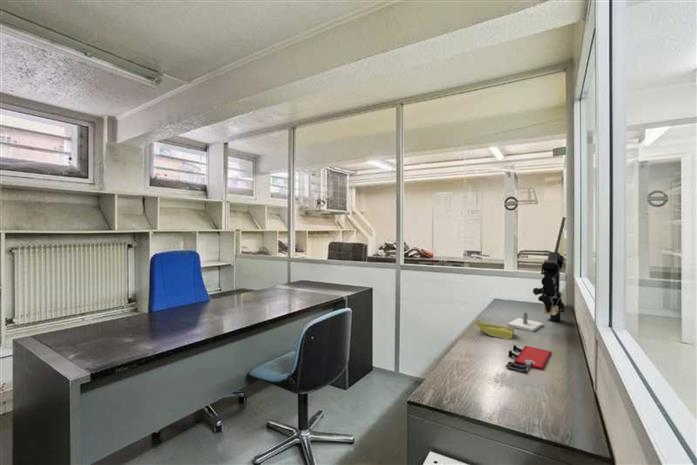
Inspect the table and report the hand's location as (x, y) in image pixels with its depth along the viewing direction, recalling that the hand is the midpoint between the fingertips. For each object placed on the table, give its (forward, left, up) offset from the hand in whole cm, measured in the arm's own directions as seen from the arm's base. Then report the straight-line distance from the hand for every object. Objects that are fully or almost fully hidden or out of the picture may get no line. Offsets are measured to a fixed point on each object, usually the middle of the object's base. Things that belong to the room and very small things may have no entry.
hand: (550, 311), depth 190 cm
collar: (0, 0, -1) cm, 1 cm away
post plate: (+1, -13, -11) cm, 17 cm away
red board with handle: (+49, +7, -12) cm, 51 cm away
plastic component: (+26, -20, -11) cm, 35 cm away
